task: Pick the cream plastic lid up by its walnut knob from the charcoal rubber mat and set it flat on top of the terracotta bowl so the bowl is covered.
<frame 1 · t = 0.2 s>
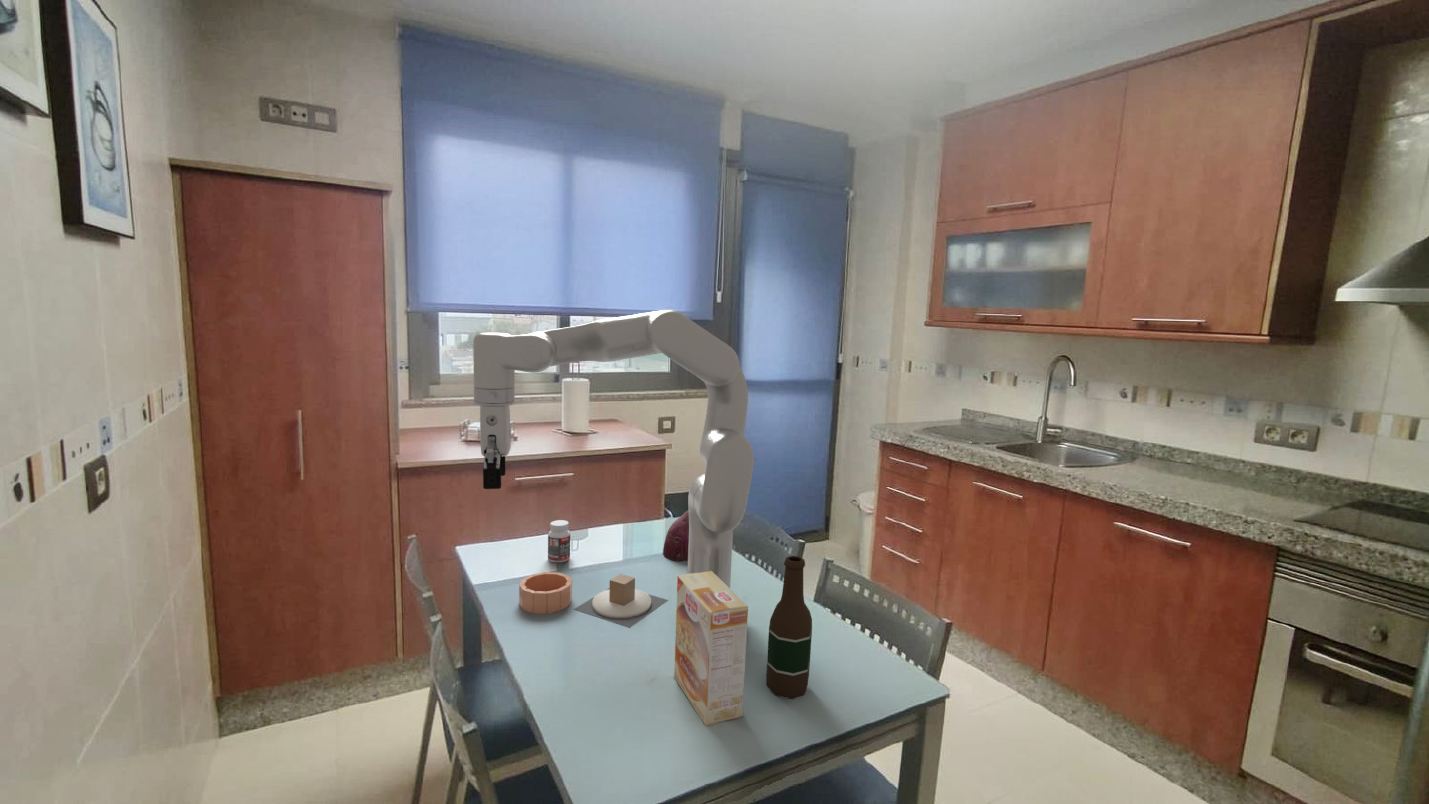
hand: (494, 481, 123), 31 cm above the table, tool pointing down, fingers open, 9 cm apart
mat: (621, 606, 139), on the table
pill bottle: (558, 559, 164), on the table
bowl: (545, 603, 138), on the table
vegetable: (680, 555, 171), on the table
coffeecake box: (706, 697, 107), on the table
beer bottle: (787, 687, 111), on the table
lid: (621, 604, 139), resting on mat
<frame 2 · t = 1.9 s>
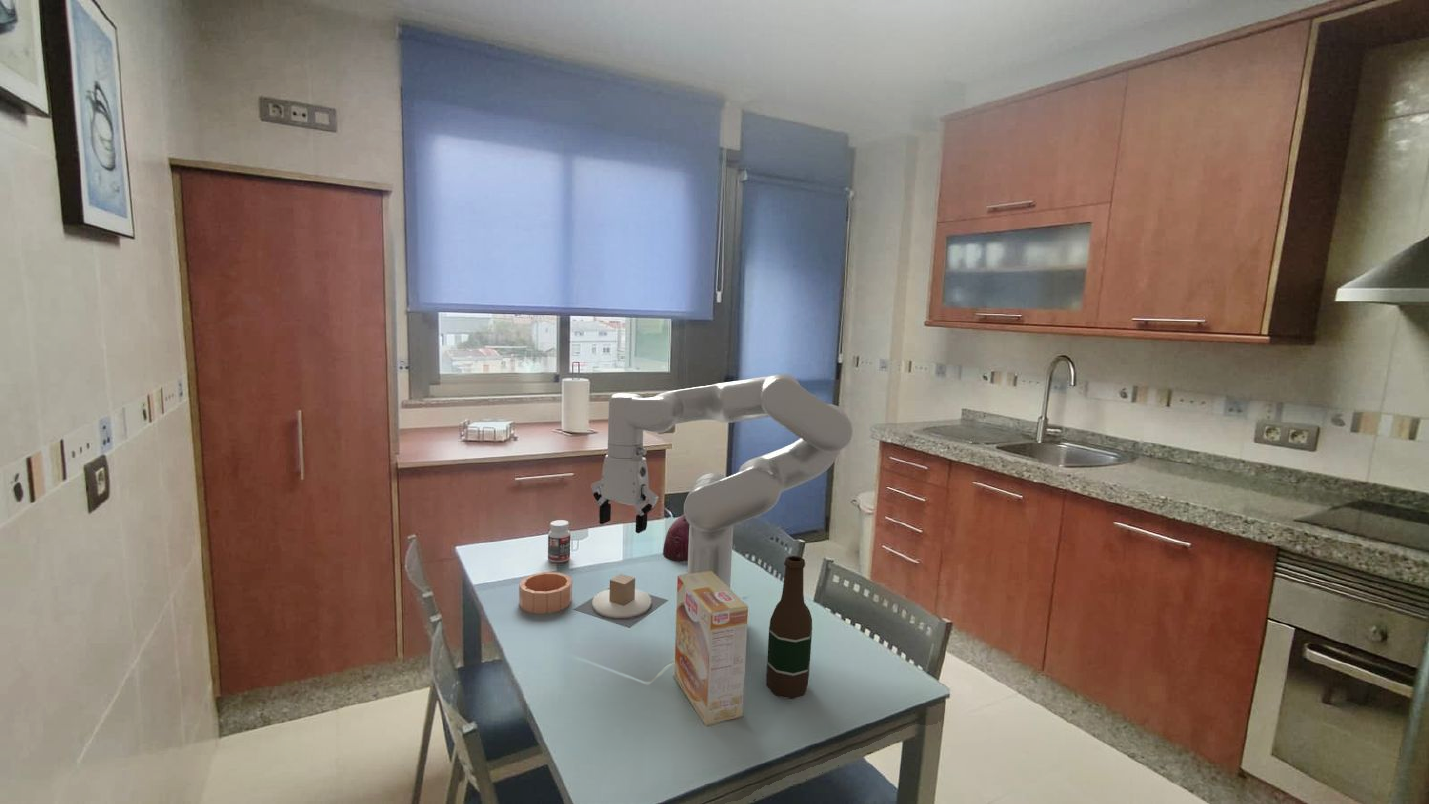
hand: (622, 526, 136), 19 cm above the table, tool pointing down, fingers open, 9 cm apart
nothing on the table moved.
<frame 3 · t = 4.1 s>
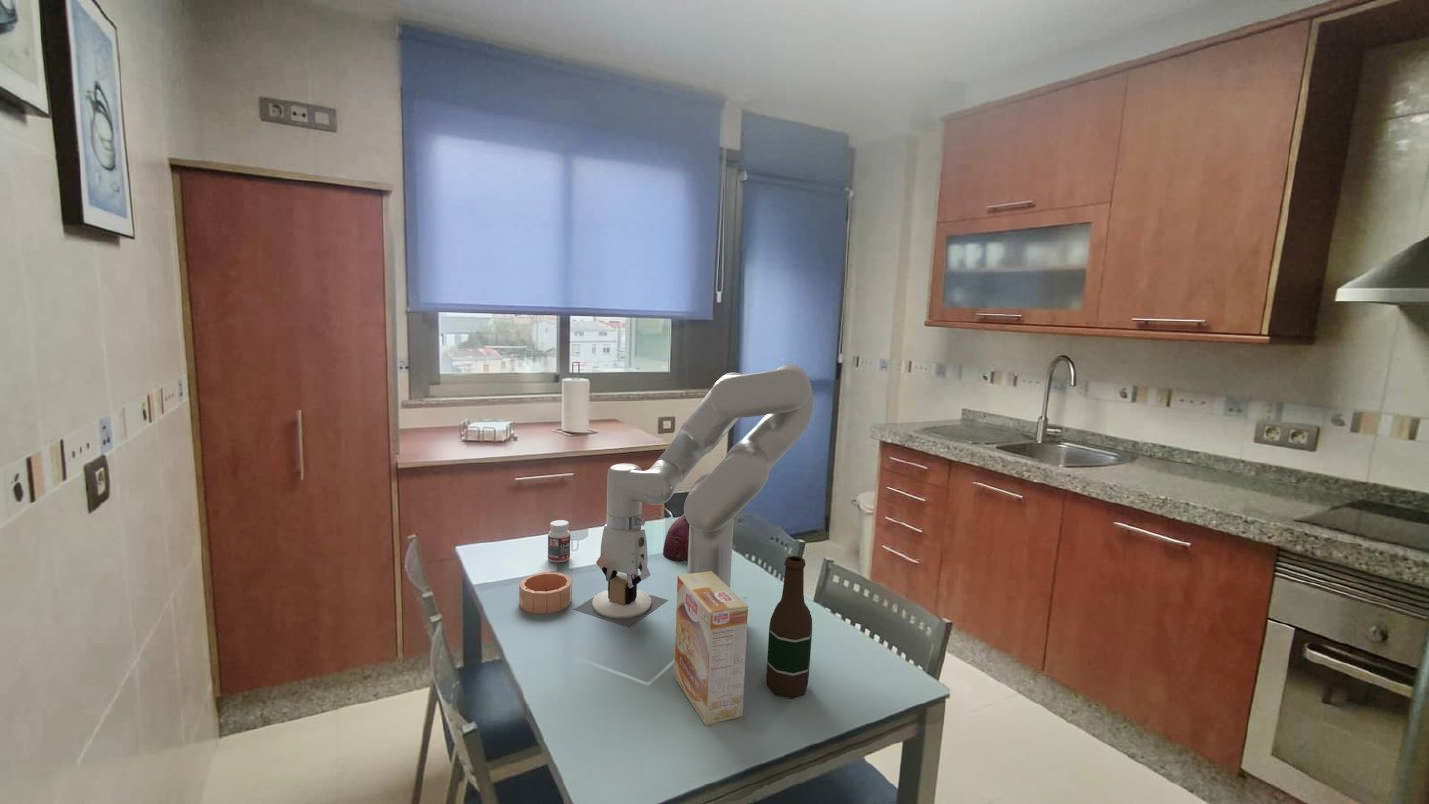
hand: (622, 598, 138), 2 cm above the table, tool pointing down, fingers closed on lid, 4 cm apart
lid: (621, 604, 139), point 1 cm above the table, touching gripper, mat
everything else where it was.
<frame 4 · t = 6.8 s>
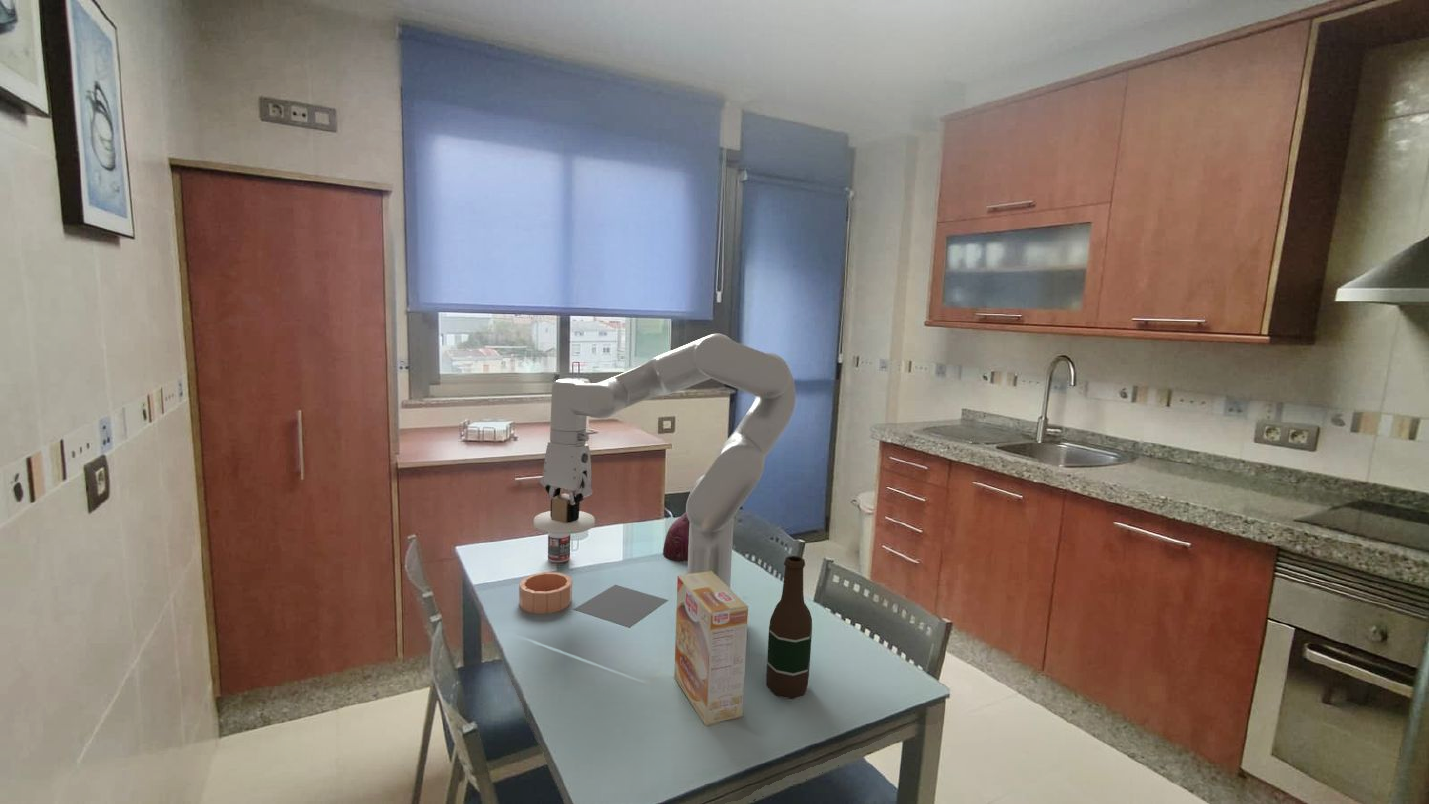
hand: (564, 517, 136), 20 cm above the table, tool pointing down, fingers closed on lid, 4 cm apart
lid: (564, 523, 136), point 19 cm above the table, touching gripper
everything else where it was.
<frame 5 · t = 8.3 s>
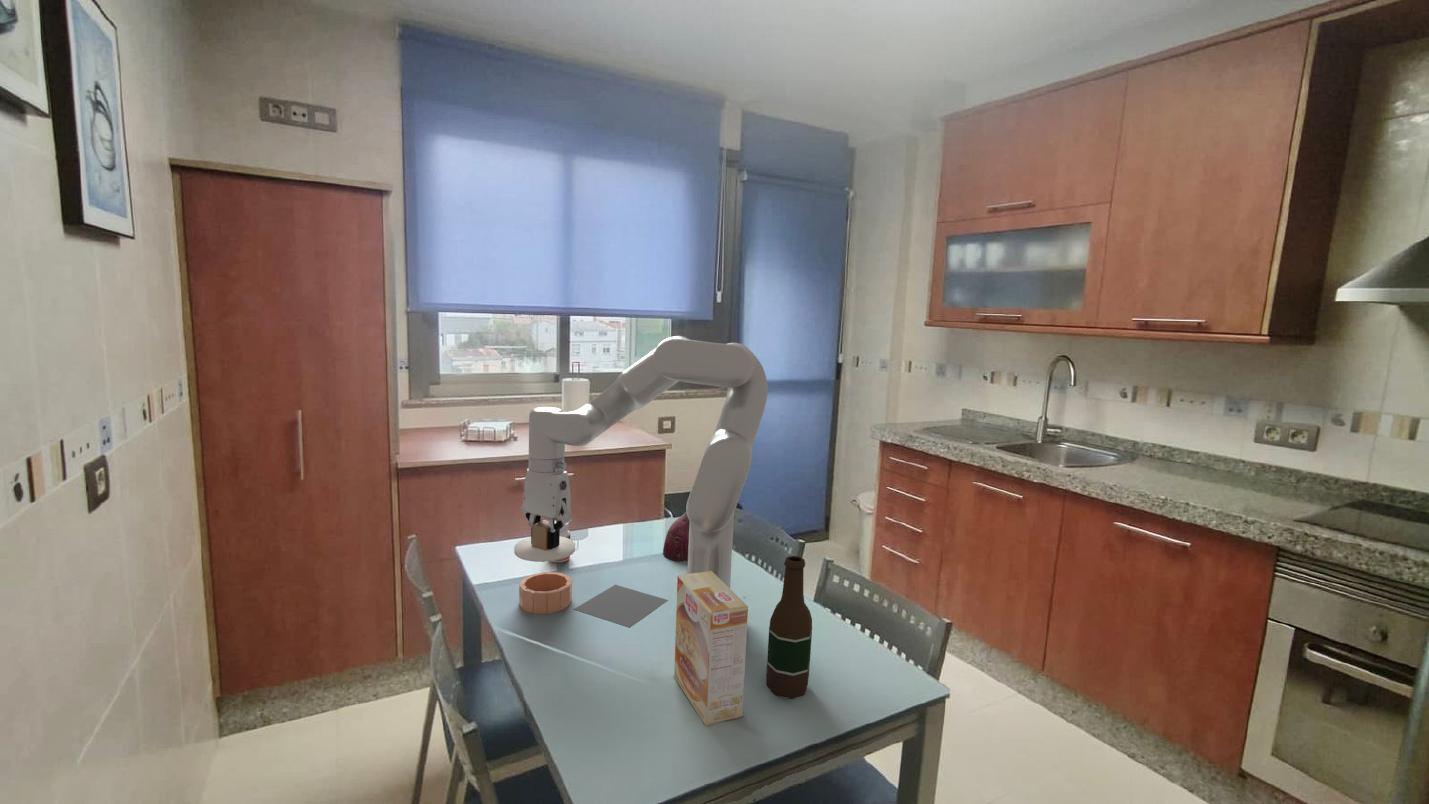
hand: (545, 544, 137), 14 cm above the table, tool pointing down, fingers closed on lid, 4 cm apart
lid: (545, 550, 137), point 12 cm above the table, touching gripper
everything else where it was.
when the fingers open (8 cm above the table, at t = 9.6 s): lid drops 1 cm, resting on bowl.
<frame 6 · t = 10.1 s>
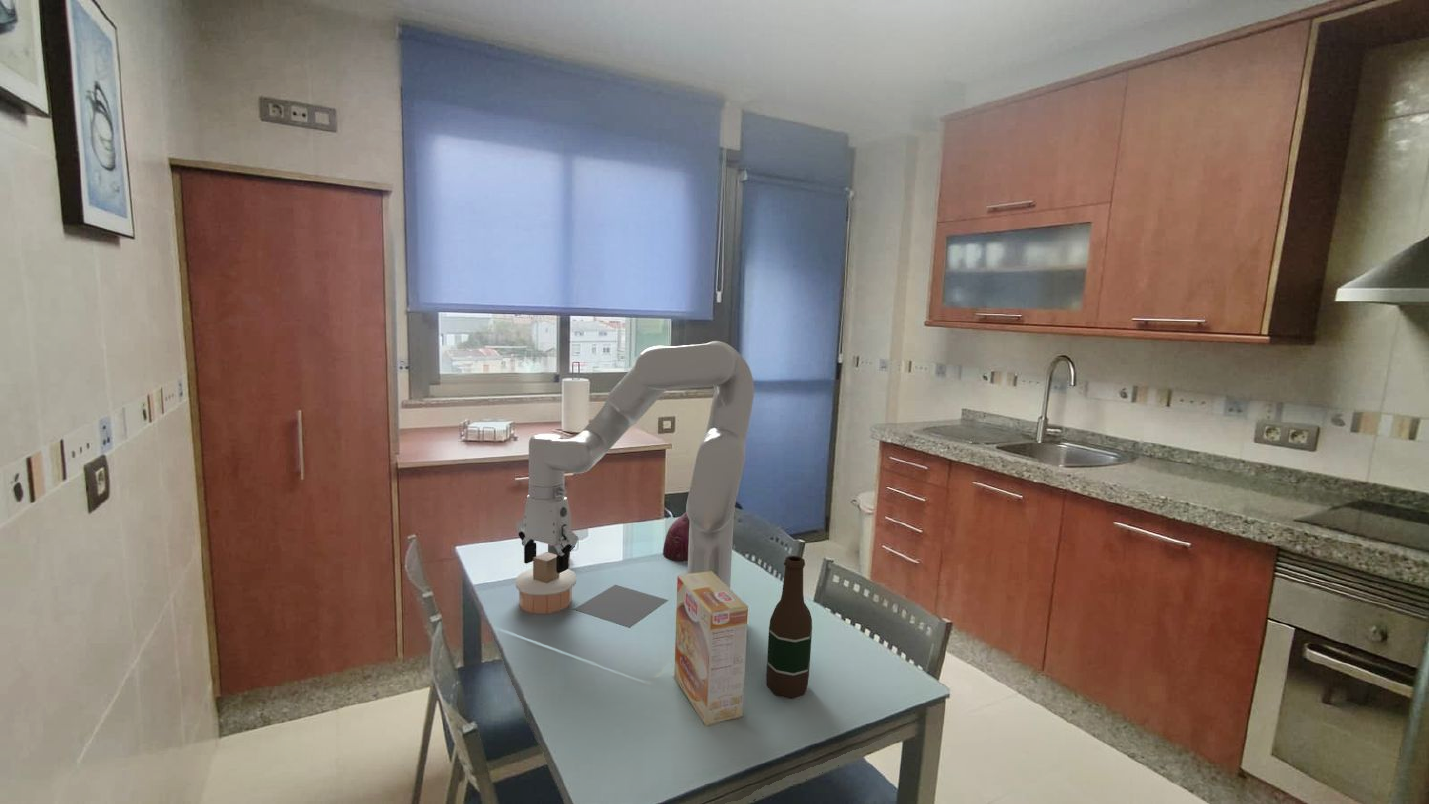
hand: (546, 566, 137), 9 cm above the table, tool pointing down, fingers open, 9 cm apart
lid: (546, 582, 138), point 5 cm above the table, touching bowl
everything else where it was.
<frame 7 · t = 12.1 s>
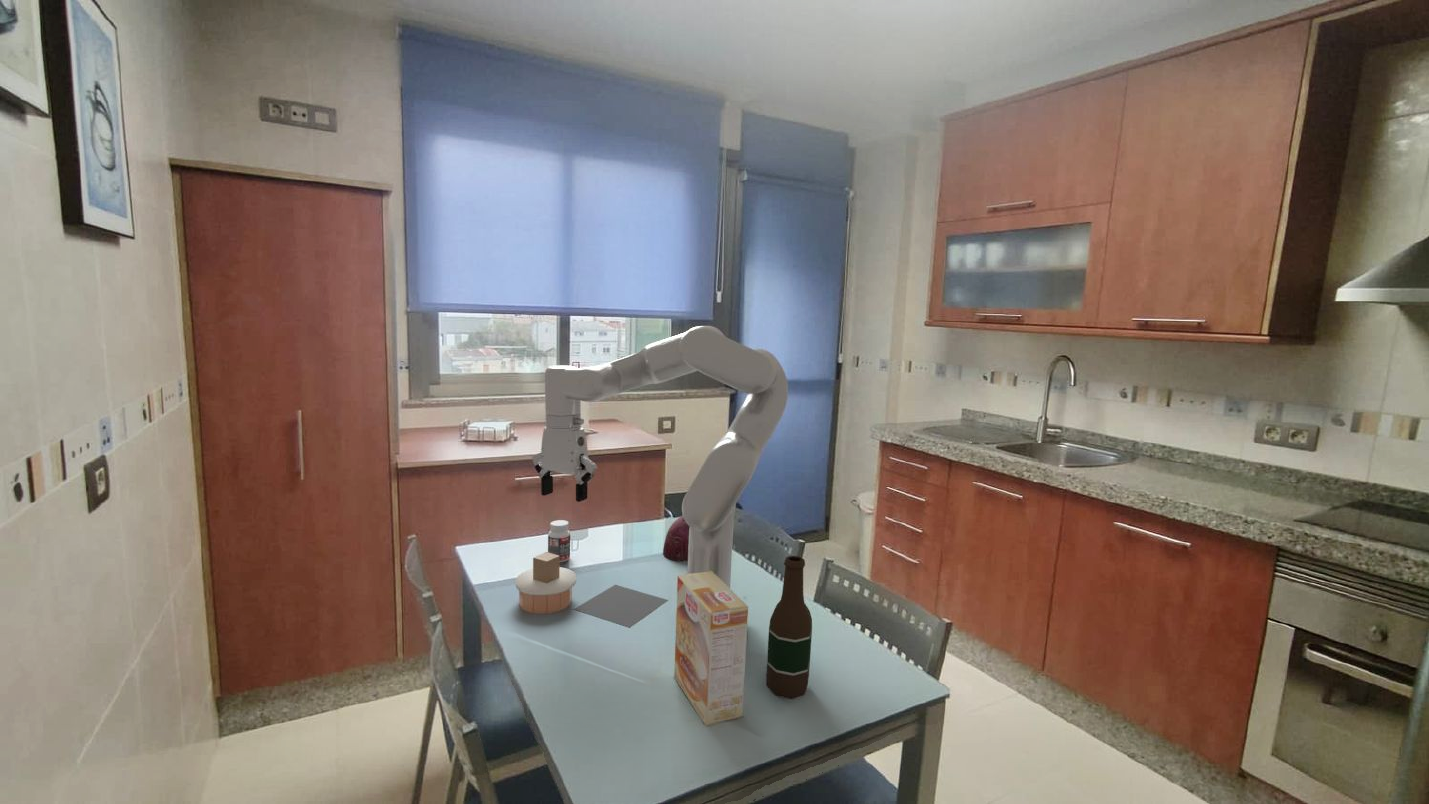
hand: (564, 497, 139), 24 cm above the table, tool pointing down, fingers open, 9 cm apart
nothing on the table moved.
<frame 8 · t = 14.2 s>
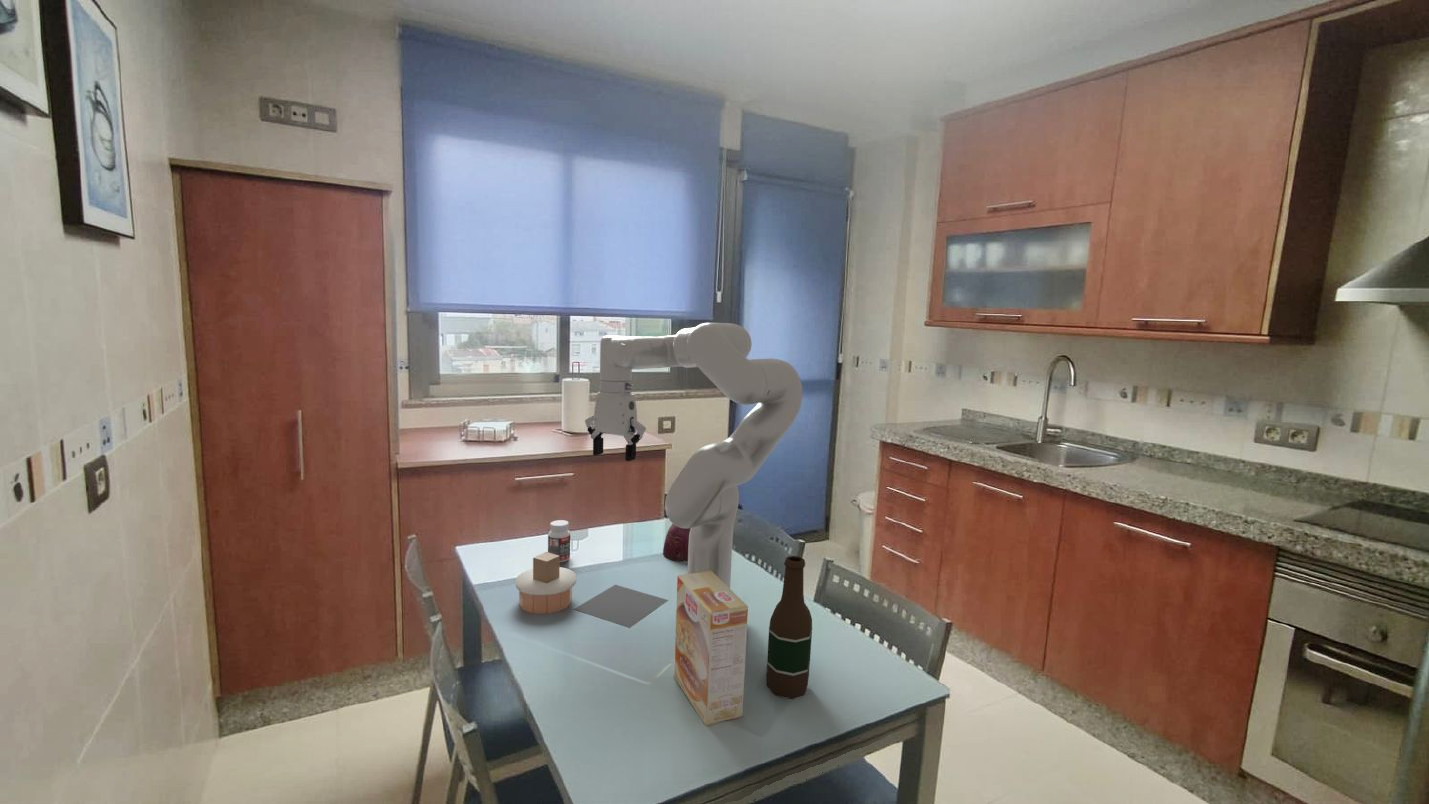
hand: (614, 457, 151), 30 cm above the table, tool pointing down, fingers open, 9 cm apart
nothing on the table moved.
at the end: lid 0.1 cm off-centre on the bowl, point 5.0 cm above the bowl's base; lid tilted 0°; the gripper is holding nothing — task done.
